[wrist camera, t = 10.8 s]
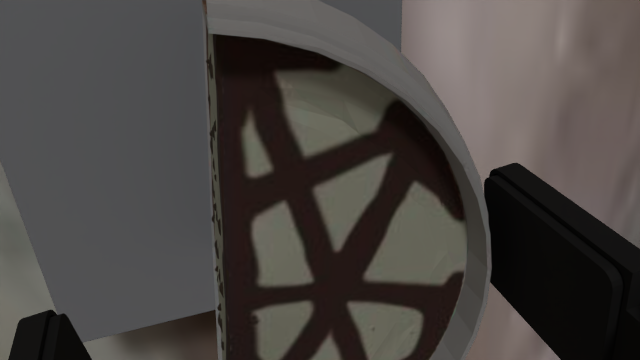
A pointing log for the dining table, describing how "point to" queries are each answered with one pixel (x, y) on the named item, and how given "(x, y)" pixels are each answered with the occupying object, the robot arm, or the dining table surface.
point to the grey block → (118, 152)
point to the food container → (335, 193)
